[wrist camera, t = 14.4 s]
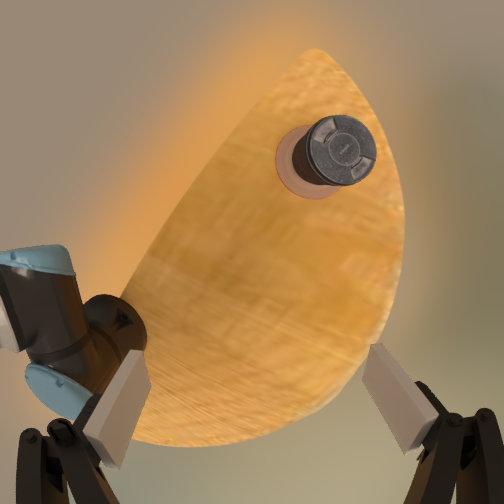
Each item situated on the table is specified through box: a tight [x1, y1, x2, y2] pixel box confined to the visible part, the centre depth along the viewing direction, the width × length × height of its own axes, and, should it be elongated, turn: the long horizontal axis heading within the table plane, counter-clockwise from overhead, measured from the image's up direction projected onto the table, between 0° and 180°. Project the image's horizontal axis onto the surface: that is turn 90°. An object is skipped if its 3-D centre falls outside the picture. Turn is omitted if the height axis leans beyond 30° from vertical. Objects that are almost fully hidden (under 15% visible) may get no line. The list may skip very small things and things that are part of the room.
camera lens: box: [292, 115, 377, 186], centre depth 33 cm, size 8×8×15 cm
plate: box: [276, 125, 342, 199], centre depth 41 cm, size 12×12×1 cm
